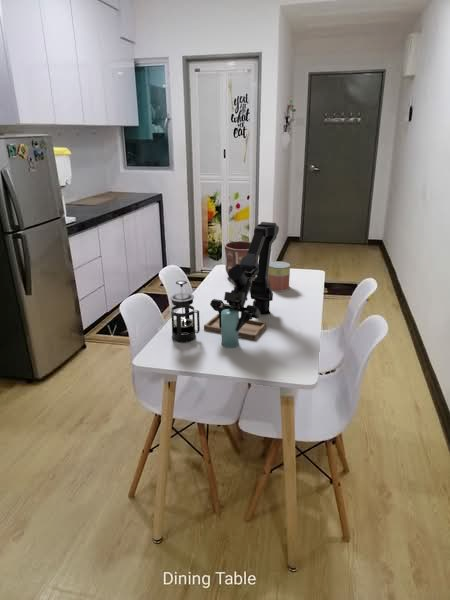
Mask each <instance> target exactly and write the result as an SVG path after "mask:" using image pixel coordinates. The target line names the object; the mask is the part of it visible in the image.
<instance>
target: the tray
mask: <svg viewBox="0 0 450 600" xmlns="http://www.w3.org/2000/svg"><path fill="white" fill-rule="evenodd" d="M239 320H240V317H239ZM267 324H268V323H267V322H264V321H259V320H254V319H250V320H249V321H247V322H246V323H245V324H244V325H243V326H242V327H241V328H240V330H239V338H244V339H247V340H253V341H255V340H256V339H257V338H258V336H260V335H261V333H262V332H263V331H264V330H265V329H266V328H267ZM203 330H204V331H205V330H206V331H210V332H215V333H220V334H221V328H220V327H219V313H217V314H216V315H215V316H213V317H212V318H211V319H210V320H209V321H208V322H206V323H205V324H204V325H203Z"/></svg>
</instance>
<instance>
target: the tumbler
mask: <svg viewBox="0 0 450 600" xmlns="http://www.w3.org/2000/svg"><path fill="white" fill-rule="evenodd" d="M239 313H240V312H238V311H237V310H235V309H225V310H223V311H222V312H221V333H220V334H221V341H220V344H221V346H222V347H224V348H225V349H234V348H237V347H238V346H239V345H240V342H239V338H240V337H239V331H238V332H237V331H236V328H237V325H238V322H239V318H240V317H239V316H240V315H239Z"/></svg>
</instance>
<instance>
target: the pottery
mask: <svg viewBox="0 0 450 600" xmlns="http://www.w3.org/2000/svg"><path fill="white" fill-rule="evenodd" d="M250 244H251V241H243V240H241V241H240V240H239V241H235V240H234V241H231V242H230V241H229V242H227V243H225V244H224V253H225V272H226V274H227V275H228V271H229V270H230V269H231V268H232V267H235V266H236V264H239V263H240V261H241V259H242V258H243V257H245V256H246V255H247V252H248V249H249V247H250ZM247 278H248V279H249V280H250V279H251V278H250V277H247Z"/></svg>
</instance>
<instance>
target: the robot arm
mask: <svg viewBox="0 0 450 600" xmlns="http://www.w3.org/2000/svg"><path fill="white" fill-rule="evenodd" d="M279 228H280V227H279V225H278V224H277V223H276V222H268V221H261V222H260V223H259V224H258V223H257V224H256V225H255V227H254V230H253V236H252V238H251V241H250V242H251V244H250V247H249V249H248V252H247V255H246V256H245V257H243V258H242V259H241V261H240V263H239V264H236V266H235V267H232V268H231V269H230V270H229V271H228V274H227V276H228V278H229V279H230V282H231V283H232V285H233V286H234V287H233V289H232V290H231V291H230V292H229V291H225V292H224V298H223V300H224V301H226V303H224V301H223V300H221V299H215V298H213V299H211V301H210V303H209V305H210V306H211V308H212V309H213V310H214V311H216V312H218V314H219V327H220V328H221V312H222V311H223V310H225V309H235V310H237V311H238V312H239V313H240V317H239V318H240V320H239V322H238V325H237V328H236V331H237V332H238V331H239V330H240V328H241V327H242V326H243V325H244V324H245V323H246V322H247V321H249V320H253V319H257V320H258V319H260V316H261V315H269V314H271V310H270V305H271V304H270V302H271V301H273V300H274V298H273V297H274V293H273V290H271V288H270V285H271V284H270V282H269V280H268V270H269V263H270V261H271V254H272V253H271V252H272V246H273V243H274V242H275V241H276V239H277V236H278V233H279V230H280V229H279ZM247 277H250V279H253V280H252V281H251V280H250V279H248V278H247ZM249 293H250V299H251V300H253V301H252V305H251V304H247V305H246V307H245V304H246V301H248V294H249Z"/></svg>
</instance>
